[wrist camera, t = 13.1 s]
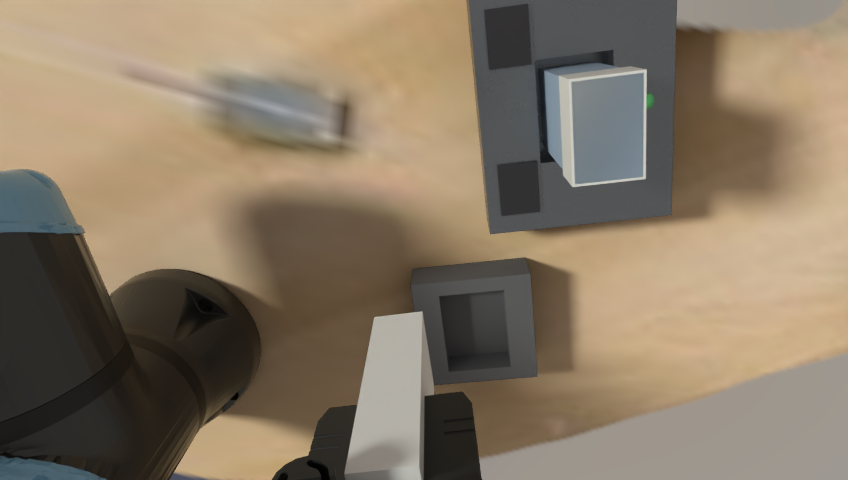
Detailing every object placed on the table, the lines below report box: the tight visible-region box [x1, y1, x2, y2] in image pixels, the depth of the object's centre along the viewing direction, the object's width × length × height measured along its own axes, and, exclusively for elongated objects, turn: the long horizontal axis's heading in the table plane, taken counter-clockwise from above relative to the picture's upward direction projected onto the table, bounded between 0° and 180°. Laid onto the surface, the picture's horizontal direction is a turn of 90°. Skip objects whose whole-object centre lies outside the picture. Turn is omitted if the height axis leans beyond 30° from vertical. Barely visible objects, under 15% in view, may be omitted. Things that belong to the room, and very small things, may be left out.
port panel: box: [467, 0, 677, 234], centre depth 42 cm, size 14×18×5 cm
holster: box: [410, 258, 537, 385], centre depth 50 cm, size 10×10×4 cm
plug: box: [539, 62, 647, 187], centre depth 38 cm, size 4×6×12 cm
